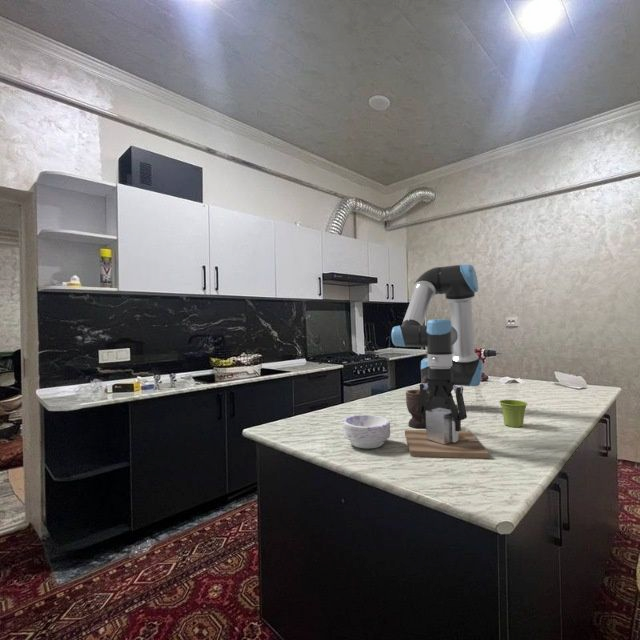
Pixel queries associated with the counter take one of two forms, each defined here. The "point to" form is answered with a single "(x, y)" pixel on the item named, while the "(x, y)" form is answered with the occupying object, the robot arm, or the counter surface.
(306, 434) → the counter surface
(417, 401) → the mortar and pestle
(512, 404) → the plant pot
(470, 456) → the board
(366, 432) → the paper bowls
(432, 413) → the grey block with bar
